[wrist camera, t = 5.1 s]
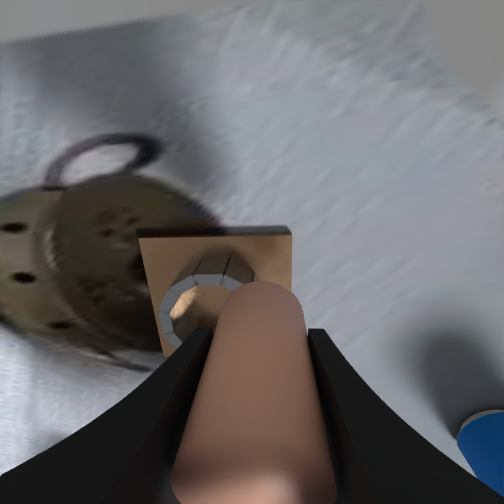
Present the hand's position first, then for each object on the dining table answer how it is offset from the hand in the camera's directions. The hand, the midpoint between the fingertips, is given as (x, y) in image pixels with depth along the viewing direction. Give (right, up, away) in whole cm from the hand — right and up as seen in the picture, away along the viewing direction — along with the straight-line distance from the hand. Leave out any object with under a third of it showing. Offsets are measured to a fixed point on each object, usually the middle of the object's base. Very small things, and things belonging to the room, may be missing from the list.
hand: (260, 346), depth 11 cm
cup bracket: (-3, 0, +10) cm, 10 cm away
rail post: (0, +1, +2) cm, 2 cm away
